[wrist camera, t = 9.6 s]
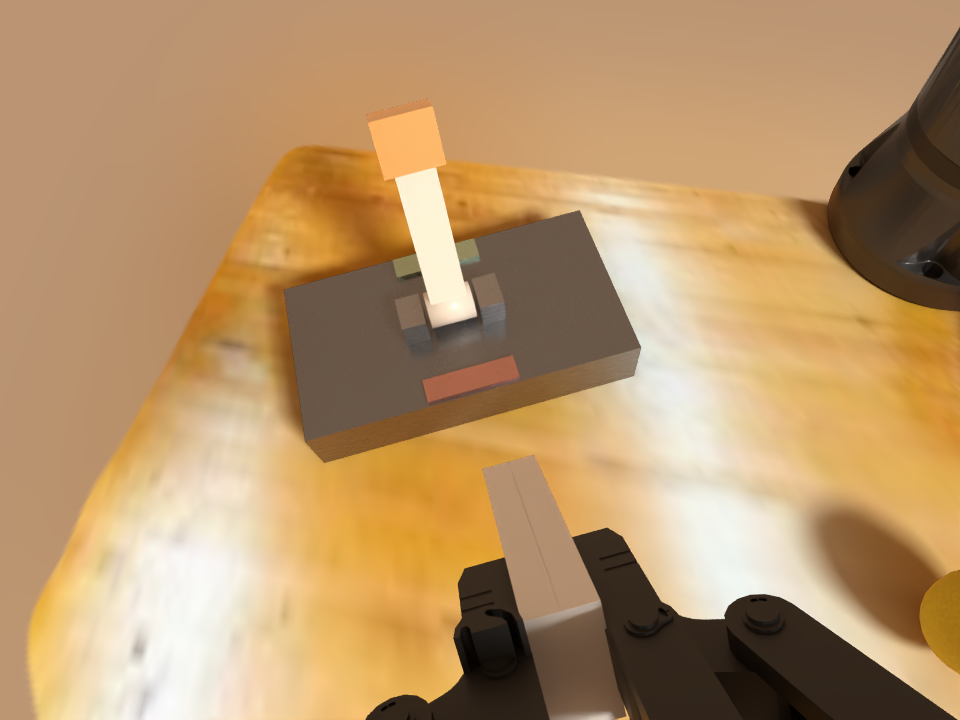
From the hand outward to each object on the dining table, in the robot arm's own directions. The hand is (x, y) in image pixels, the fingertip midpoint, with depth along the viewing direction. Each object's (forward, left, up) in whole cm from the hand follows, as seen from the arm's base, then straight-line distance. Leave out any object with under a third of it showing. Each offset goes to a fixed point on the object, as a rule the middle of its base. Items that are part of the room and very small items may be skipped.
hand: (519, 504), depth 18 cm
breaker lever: (0, -18, -18) cm, 26 cm away
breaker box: (0, -19, -23) cm, 30 cm away
